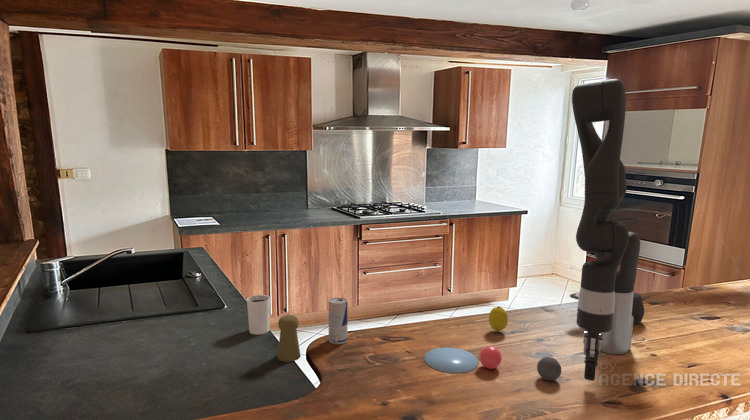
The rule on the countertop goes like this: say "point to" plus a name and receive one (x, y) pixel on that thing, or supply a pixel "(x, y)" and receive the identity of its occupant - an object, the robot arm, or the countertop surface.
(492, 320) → the lemon
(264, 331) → the white cup
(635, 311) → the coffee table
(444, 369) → the blue mark
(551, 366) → the gray ball
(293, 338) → the cork
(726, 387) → the countertop surface
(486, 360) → the red ball
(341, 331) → the energy drink
